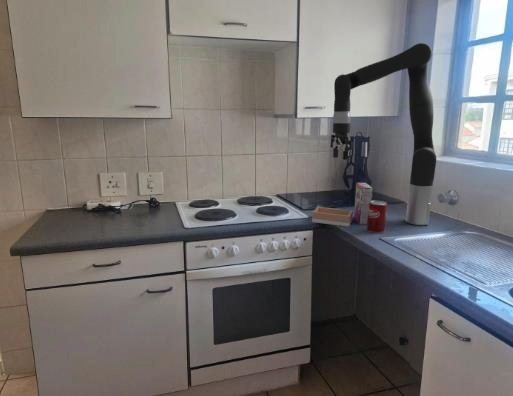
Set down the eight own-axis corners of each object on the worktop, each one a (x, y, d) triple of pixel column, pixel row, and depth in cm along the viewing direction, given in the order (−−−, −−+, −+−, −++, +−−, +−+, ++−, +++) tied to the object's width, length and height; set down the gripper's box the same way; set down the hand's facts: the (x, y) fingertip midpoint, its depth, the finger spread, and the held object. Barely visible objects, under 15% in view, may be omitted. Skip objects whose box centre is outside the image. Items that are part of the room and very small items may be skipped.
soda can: (372, 234, 153) (375, 205, 150) (363, 228, 160) (365, 200, 157) (388, 232, 155) (391, 204, 152) (378, 227, 162) (380, 200, 159)
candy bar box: (353, 217, 176) (355, 182, 173) (363, 217, 176) (366, 182, 173) (358, 224, 166) (362, 187, 162) (370, 224, 166) (373, 187, 162)
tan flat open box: (352, 220, 171) (352, 210, 170) (348, 226, 162) (349, 216, 161) (317, 216, 177) (317, 206, 176) (312, 221, 168) (312, 212, 167)
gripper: (358, 122, 164) (356, 160, 167) (340, 121, 177) (339, 156, 180) (342, 122, 161) (341, 160, 165) (326, 121, 174) (325, 157, 178)
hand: (340, 158), depth 173 cm, fingers open, 8 cm apart
